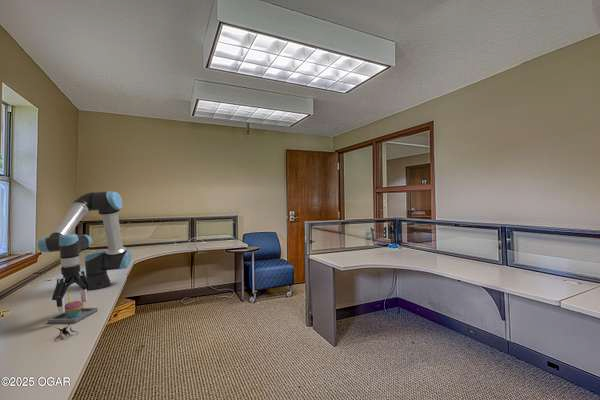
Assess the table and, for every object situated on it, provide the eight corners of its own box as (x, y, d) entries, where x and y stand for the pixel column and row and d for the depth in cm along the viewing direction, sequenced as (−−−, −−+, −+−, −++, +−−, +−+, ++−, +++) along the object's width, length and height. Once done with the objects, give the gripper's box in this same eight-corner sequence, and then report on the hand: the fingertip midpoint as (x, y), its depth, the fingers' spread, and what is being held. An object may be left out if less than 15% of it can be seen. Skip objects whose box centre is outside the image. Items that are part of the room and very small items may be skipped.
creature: (80, 338, 127) (74, 329, 132) (80, 326, 127) (74, 318, 131) (57, 346, 121) (51, 336, 126) (57, 334, 120) (51, 325, 125)
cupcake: (59, 320, 142) (58, 296, 142) (68, 313, 150) (66, 290, 150) (80, 317, 145) (78, 293, 144) (87, 310, 153) (85, 288, 152)
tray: (72, 311, 155) (72, 308, 155) (97, 311, 154) (97, 307, 154) (48, 323, 141) (47, 319, 141) (75, 323, 140) (75, 319, 140)
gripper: (83, 259, 159) (86, 297, 160) (39, 272, 134) (43, 317, 135) (96, 259, 159) (99, 297, 159) (55, 272, 134) (58, 317, 135)
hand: (73, 306), depth 147 cm, fingers open, 13 cm apart
